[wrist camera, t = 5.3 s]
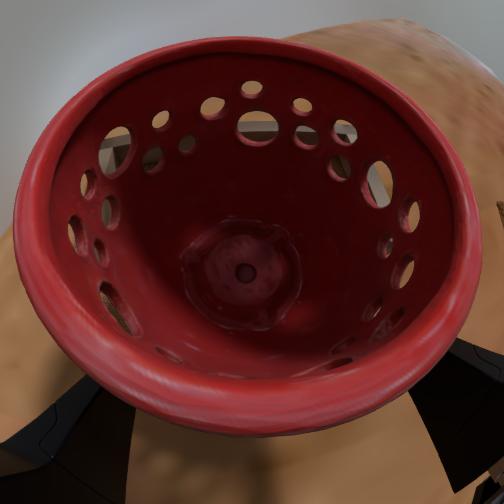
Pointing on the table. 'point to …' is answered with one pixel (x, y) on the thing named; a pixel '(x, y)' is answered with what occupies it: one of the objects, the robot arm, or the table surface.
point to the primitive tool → (501, 210)
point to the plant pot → (248, 240)
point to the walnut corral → (257, 131)
